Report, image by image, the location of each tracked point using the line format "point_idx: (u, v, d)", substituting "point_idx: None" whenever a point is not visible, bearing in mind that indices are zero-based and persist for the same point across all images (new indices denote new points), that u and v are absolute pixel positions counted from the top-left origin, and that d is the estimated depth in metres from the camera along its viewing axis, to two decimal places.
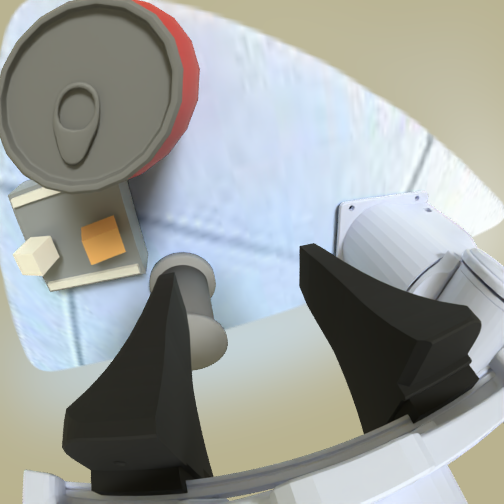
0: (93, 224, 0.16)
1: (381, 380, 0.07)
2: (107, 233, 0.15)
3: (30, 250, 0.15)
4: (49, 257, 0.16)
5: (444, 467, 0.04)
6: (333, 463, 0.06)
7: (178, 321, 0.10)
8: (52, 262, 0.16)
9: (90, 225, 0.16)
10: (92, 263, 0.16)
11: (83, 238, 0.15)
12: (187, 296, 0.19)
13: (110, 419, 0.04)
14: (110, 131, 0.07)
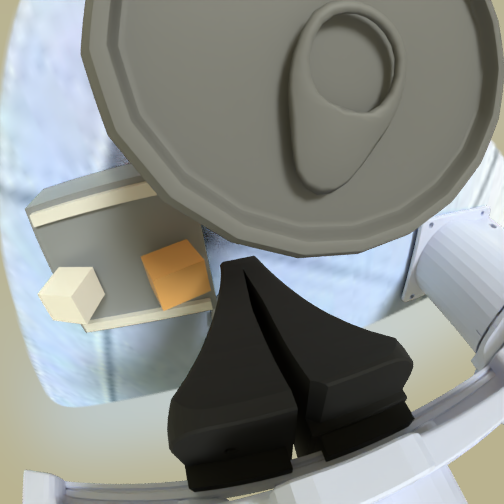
0: (159, 252, 0.13)
1: None
2: (189, 268, 0.12)
3: (66, 290, 0.11)
4: (92, 297, 0.12)
5: (444, 467, 0.04)
6: (333, 463, 0.06)
7: None
8: (97, 303, 0.12)
9: (155, 253, 0.13)
10: (165, 308, 0.12)
11: (153, 275, 0.11)
12: None
13: (239, 400, 0.05)
14: (398, 133, 0.03)
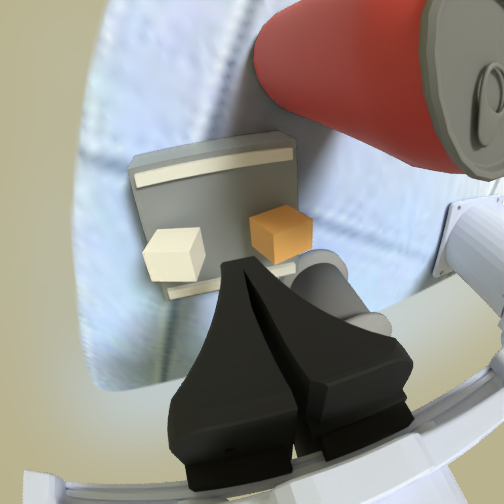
0: (266, 214, 0.15)
1: None
2: (301, 225, 0.14)
3: (179, 246, 0.13)
4: (199, 255, 0.14)
5: (444, 467, 0.04)
6: (333, 463, 0.06)
7: None
8: (201, 262, 0.14)
9: (263, 215, 0.14)
10: (276, 262, 0.14)
11: (271, 231, 0.13)
12: (349, 295, 0.18)
13: (239, 400, 0.05)
14: (502, 124, 0.05)
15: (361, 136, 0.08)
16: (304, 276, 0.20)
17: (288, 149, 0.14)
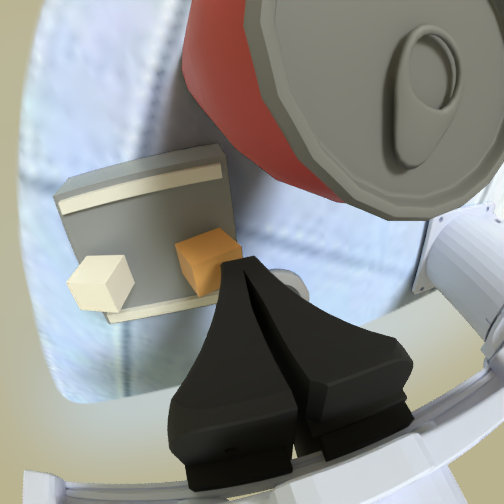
0: (194, 240, 0.13)
1: None
2: (227, 254, 0.12)
3: (98, 277, 0.11)
4: (124, 285, 0.13)
5: (444, 467, 0.04)
6: (333, 463, 0.06)
7: None
8: (127, 291, 0.13)
9: (189, 241, 0.13)
10: (200, 294, 0.12)
11: (191, 261, 0.12)
12: None
13: (238, 401, 0.05)
14: (455, 128, 0.04)
15: None
16: None
17: (215, 166, 0.12)
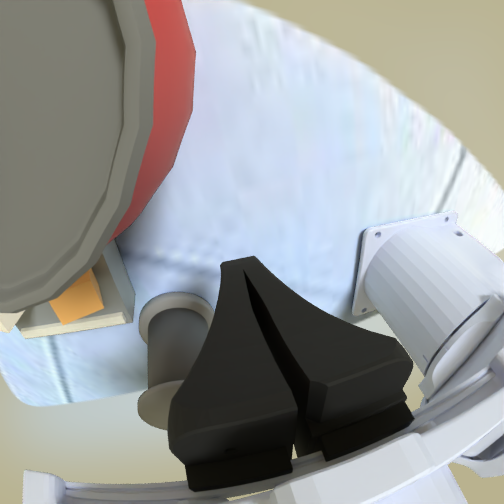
0: None
1: None
2: (78, 287, 0.11)
3: None
4: None
5: (444, 467, 0.04)
6: (333, 463, 0.06)
7: None
8: (19, 314, 0.12)
9: None
10: (63, 323, 0.11)
11: None
12: (184, 352, 0.15)
13: (238, 400, 0.05)
14: (9, 200, 0.03)
15: None
16: (153, 322, 0.18)
17: None
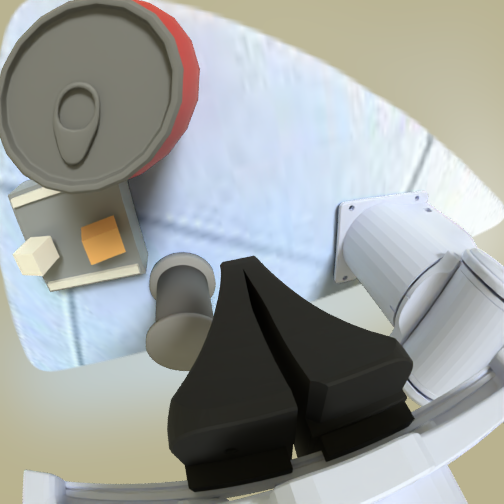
0: (93, 224, 0.16)
1: None
2: (107, 233, 0.15)
3: (30, 250, 0.15)
4: (48, 257, 0.16)
5: (444, 467, 0.04)
6: (333, 463, 0.06)
7: None
8: (52, 262, 0.16)
9: (90, 225, 0.16)
10: (92, 263, 0.16)
11: (83, 238, 0.15)
12: (187, 296, 0.19)
13: (238, 400, 0.05)
14: (110, 131, 0.07)
15: None
16: (162, 277, 0.22)
17: None
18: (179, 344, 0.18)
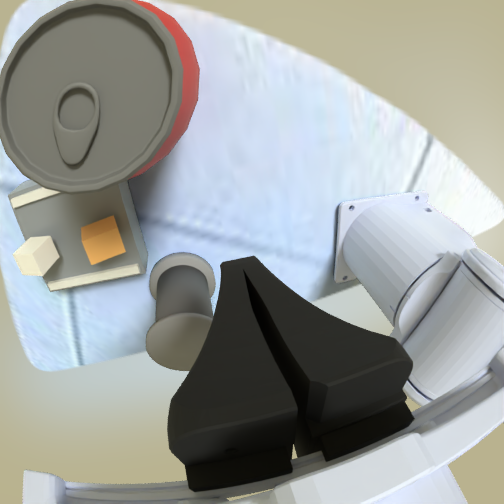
0: (93, 224, 0.16)
1: None
2: (107, 233, 0.15)
3: (30, 250, 0.15)
4: (48, 257, 0.16)
5: (444, 467, 0.04)
6: (333, 463, 0.06)
7: None
8: (52, 262, 0.16)
9: (90, 225, 0.16)
10: (92, 263, 0.16)
11: (83, 238, 0.15)
12: (187, 296, 0.19)
13: (238, 400, 0.05)
14: (109, 131, 0.07)
15: None
16: (162, 277, 0.22)
17: None
18: (179, 344, 0.18)
